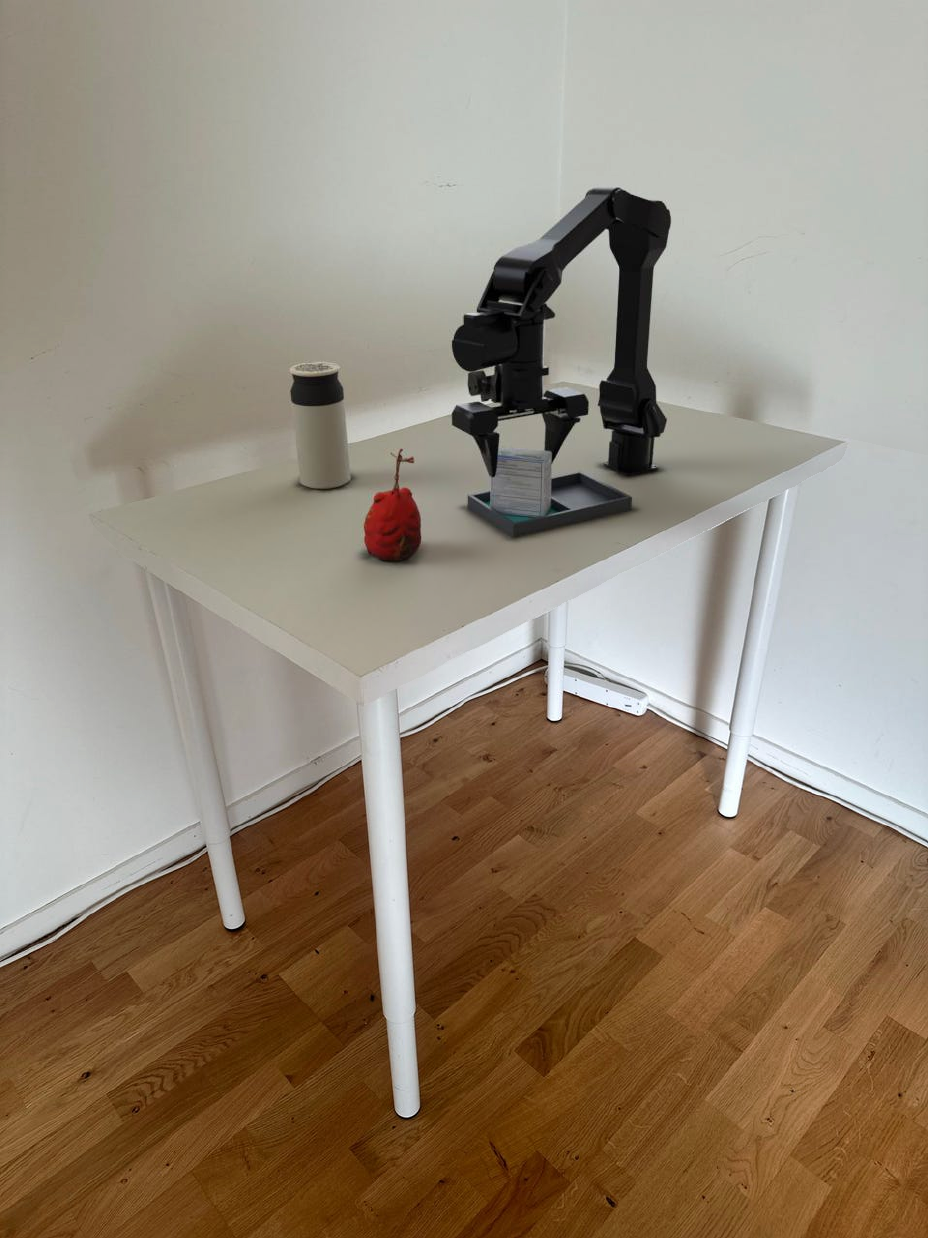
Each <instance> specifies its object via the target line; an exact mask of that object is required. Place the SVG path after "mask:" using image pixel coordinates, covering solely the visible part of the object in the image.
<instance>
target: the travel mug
mask: <svg viewBox="0 0 928 1238" xmlns="http://www.w3.org/2000/svg"><path fill="white" fill-rule="evenodd" d="M340 369H341V366H340V365H339V364H338V363H335V362H330V361H309V362H302V363H298V364H295V365H292V366H291V367H290V368H289V373H290V374H291V377H292V380H293V383H292V385H291V388H290V390H289V392H290V402H291V410H292V412H291V413H292V419H293V429H294V439H295V447H296V455H297V464H298V474H299V482H300V484H301V485H302V486H304V487H307V488H311V489H316V490H330V489H335V488H339V487H342V486H344V485H345V484H347V483H348V482H350V481H351V479H352V475H351V466H350V464H351V463H350V453H349V443H348V442H349V441H348V431H347V430H348V428H347V416H346V404H345V393H344V392H345V391H344V386H343V385H342V383H341V382H340V380H339V371H340Z"/></svg>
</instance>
